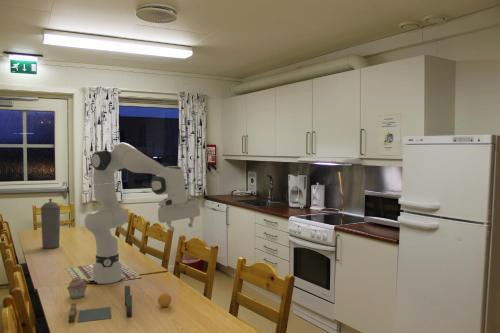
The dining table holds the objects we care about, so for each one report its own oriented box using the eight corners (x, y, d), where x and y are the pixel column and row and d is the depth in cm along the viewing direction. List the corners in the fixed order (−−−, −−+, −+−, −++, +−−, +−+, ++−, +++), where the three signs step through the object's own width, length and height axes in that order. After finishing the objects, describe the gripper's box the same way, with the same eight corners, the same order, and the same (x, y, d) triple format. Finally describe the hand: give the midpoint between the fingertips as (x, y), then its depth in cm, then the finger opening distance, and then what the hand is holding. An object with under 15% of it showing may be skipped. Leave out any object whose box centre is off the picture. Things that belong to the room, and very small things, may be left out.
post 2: (126, 315, 182) (125, 295, 181) (131, 314, 183) (131, 294, 182) (126, 317, 180) (126, 297, 179) (132, 316, 180) (132, 296, 180)
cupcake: (91, 296, 205) (91, 276, 204) (72, 301, 198) (72, 280, 197) (82, 291, 211) (81, 272, 210) (63, 296, 204) (63, 276, 203)
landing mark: (79, 310, 187) (79, 310, 187) (110, 307, 191) (110, 306, 191) (77, 322, 174) (77, 321, 174) (110, 318, 179) (110, 318, 179)
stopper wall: (71, 310, 187) (71, 303, 187) (76, 309, 188) (76, 303, 187) (68, 323, 174) (68, 315, 174) (74, 322, 174) (73, 315, 174)
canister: (57, 244, 311) (57, 197, 309) (62, 247, 301) (62, 199, 300) (39, 246, 303) (38, 198, 301) (43, 250, 293) (43, 200, 292)
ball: (157, 304, 194) (157, 292, 194) (170, 303, 196) (170, 290, 196) (158, 309, 189) (158, 296, 188) (172, 308, 191) (172, 295, 190)
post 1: (124, 304, 194) (124, 285, 194) (130, 304, 195) (130, 285, 194) (124, 306, 192) (124, 287, 191) (130, 306, 193) (130, 286, 192)
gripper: (194, 196, 206) (198, 224, 206) (155, 203, 195) (158, 232, 195) (200, 196, 201) (204, 225, 201) (159, 203, 190) (163, 233, 190)
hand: (181, 228), depth 198 cm, fingers open, 8 cm apart
